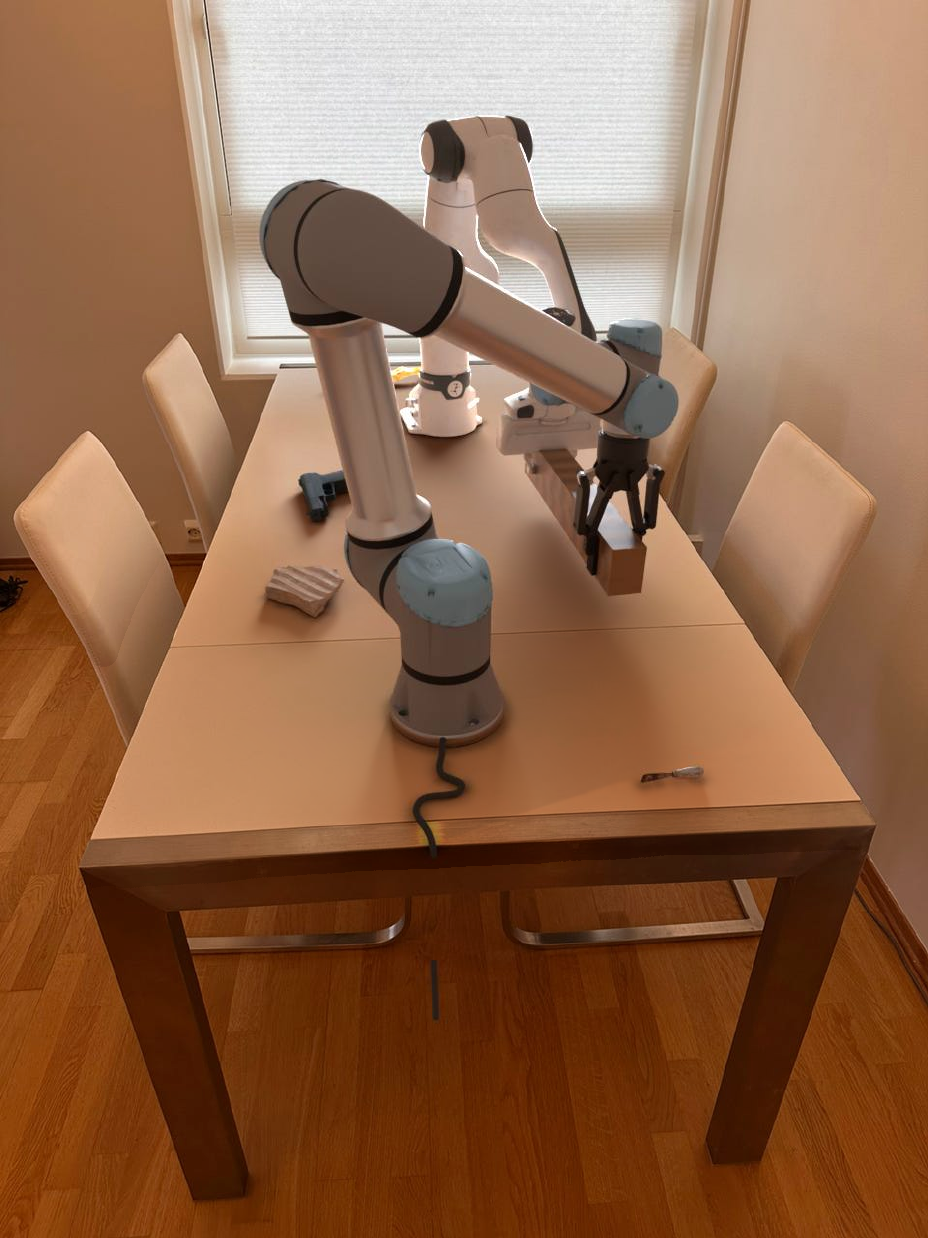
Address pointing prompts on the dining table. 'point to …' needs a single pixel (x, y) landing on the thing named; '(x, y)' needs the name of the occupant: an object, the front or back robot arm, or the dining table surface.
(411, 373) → the human figure
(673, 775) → the putty knife
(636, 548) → the beam
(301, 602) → the stone
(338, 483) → the handgun
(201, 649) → the dining table surface
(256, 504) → the dining table surface
